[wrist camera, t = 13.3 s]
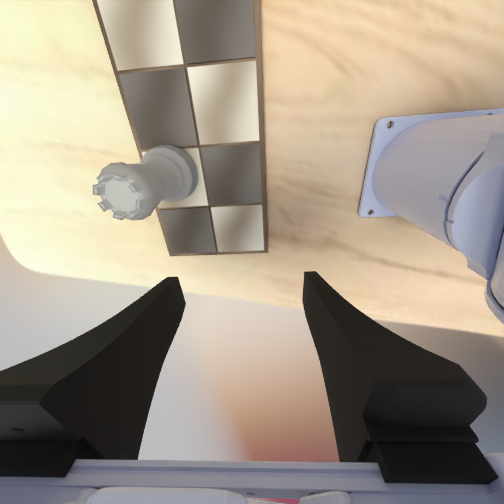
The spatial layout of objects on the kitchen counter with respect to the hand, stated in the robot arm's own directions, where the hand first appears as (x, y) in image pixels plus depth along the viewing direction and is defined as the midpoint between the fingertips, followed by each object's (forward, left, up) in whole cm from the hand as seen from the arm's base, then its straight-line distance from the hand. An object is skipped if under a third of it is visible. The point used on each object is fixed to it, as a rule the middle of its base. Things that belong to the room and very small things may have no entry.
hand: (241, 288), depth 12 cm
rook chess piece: (+6, -5, -10) cm, 13 cm away
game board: (+4, -7, -10) cm, 13 cm away
